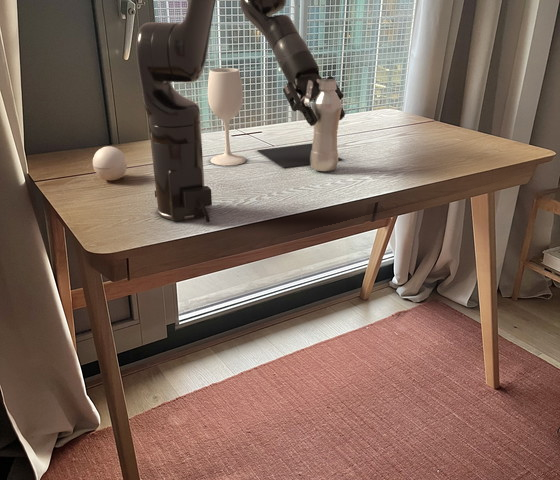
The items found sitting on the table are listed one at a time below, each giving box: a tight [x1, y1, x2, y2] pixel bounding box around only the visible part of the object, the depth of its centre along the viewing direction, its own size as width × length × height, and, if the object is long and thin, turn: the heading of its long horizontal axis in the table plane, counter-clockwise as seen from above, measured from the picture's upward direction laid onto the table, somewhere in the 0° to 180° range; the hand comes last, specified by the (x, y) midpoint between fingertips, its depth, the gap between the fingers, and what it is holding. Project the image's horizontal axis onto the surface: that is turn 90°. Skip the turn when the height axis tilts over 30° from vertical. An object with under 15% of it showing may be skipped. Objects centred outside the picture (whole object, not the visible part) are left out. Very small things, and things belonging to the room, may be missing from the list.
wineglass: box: [207, 67, 247, 167], centre depth 135 cm, size 9×9×21 cm
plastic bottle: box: [309, 78, 343, 172], centre depth 129 cm, size 6×7×20 cm
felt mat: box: [257, 142, 343, 169], centre depth 144 cm, size 16×16×1 cm
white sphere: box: [82, 145, 128, 182], centre depth 125 cm, size 10×7×7 cm
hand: (328, 121), depth 128 cm, fingers open, 8 cm apart
